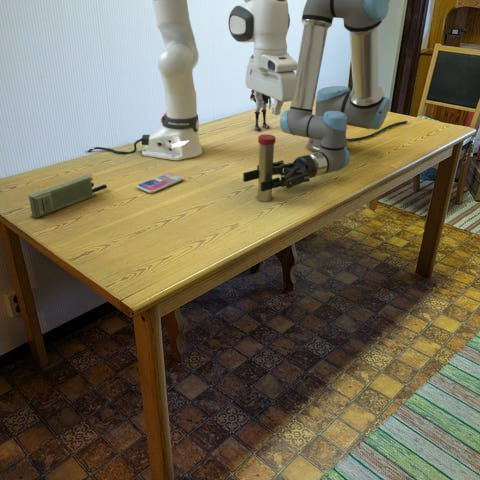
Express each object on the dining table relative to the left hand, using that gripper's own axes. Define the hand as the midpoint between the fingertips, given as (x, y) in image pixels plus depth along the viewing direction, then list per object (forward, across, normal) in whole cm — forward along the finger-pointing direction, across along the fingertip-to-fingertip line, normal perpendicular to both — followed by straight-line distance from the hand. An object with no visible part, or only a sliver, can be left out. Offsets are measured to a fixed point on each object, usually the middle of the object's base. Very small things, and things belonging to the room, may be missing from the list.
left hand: (267, 110), depth 142 cm
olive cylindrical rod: (+27, 0, 0) cm, 27 cm away
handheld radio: (+27, -24, -53) cm, 64 cm away
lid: (+8, 0, 0) cm, 8 cm away
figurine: (+27, -62, +36) cm, 77 cm away
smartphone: (+27, -25, -24) cm, 44 cm away
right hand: (+21, +1, -5) cm, 21 cm away
